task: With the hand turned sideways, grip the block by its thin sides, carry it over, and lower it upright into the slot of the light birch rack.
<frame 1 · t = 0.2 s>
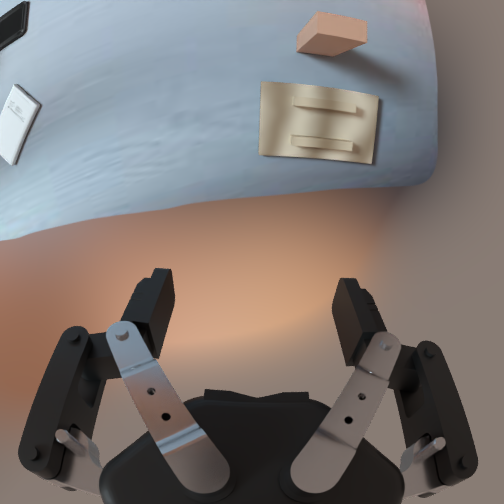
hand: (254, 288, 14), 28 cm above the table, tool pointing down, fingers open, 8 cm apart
block: (315, 45, 30), on the table
external hard drive: (16, 123, 33), on the table
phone: (2, 33, 22), on the table
rack: (318, 121, 35), on the table
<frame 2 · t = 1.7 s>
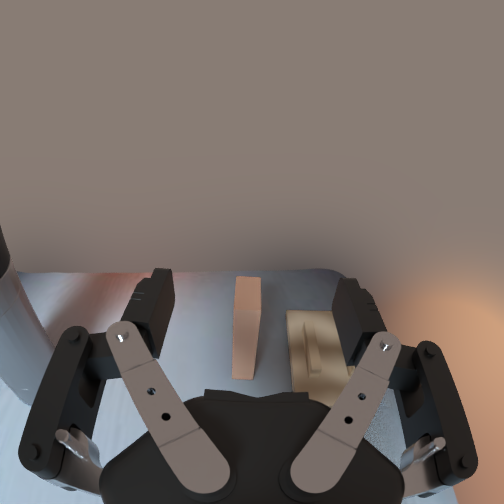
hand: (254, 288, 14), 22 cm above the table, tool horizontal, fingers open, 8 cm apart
block: (243, 363, 34), on the table
rack: (326, 358, 36), on the table
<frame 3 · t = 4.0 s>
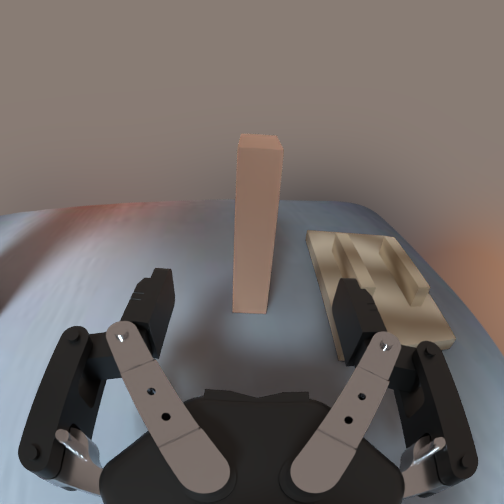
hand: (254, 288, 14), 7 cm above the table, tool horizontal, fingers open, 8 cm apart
block: (249, 291, 23), on the table
rack: (370, 287, 25), on the table
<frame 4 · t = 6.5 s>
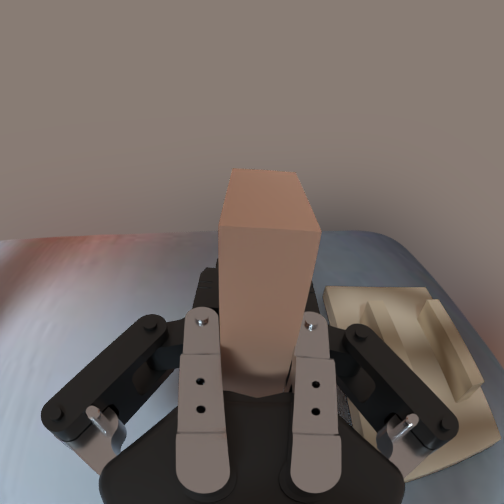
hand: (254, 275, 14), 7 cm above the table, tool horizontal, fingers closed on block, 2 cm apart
block: (248, 393, 15), on the table, touching gripper
rack: (407, 371, 17), on the table
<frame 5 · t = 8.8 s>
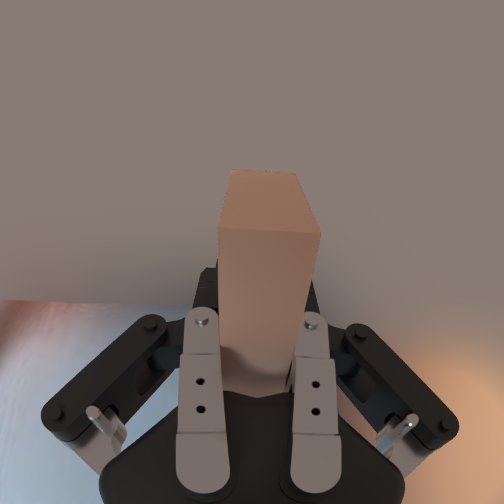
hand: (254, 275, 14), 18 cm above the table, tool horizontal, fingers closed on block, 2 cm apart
block: (247, 393, 15), point 11 cm above the table, touching gripper
when the fingers open (9 cm above the table, at t = 11.2 s): block drops 1 cm, resting on rack.
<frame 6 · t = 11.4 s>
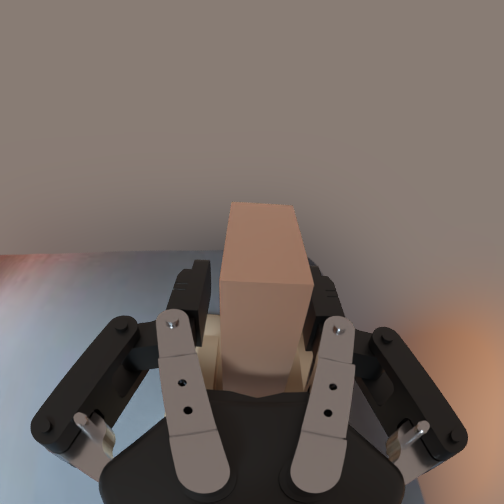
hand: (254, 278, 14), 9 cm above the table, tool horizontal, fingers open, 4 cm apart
block: (247, 402, 16), point 1 cm above the table, touching rack
rack: (245, 411, 17), on the table
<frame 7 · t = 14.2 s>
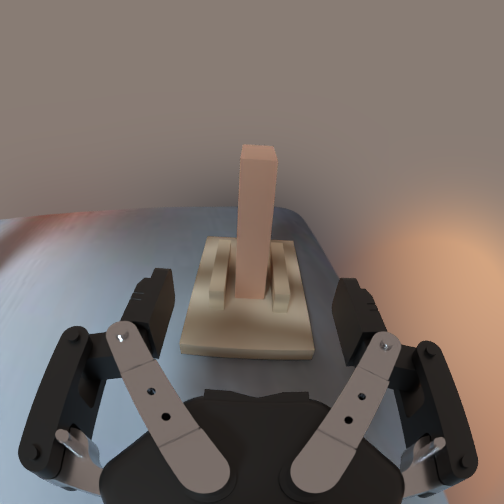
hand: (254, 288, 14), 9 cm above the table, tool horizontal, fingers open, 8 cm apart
block: (249, 280, 27), point 1 cm above the table, touching rack
rack: (248, 291, 28), on the table
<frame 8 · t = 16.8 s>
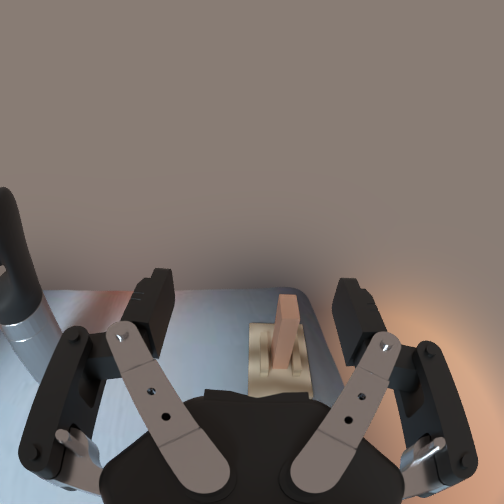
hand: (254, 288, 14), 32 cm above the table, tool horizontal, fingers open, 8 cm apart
block: (278, 357, 46), point 1 cm above the table, touching rack
rack: (277, 361, 47), on the table
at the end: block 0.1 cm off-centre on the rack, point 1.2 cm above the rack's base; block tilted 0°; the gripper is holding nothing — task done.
